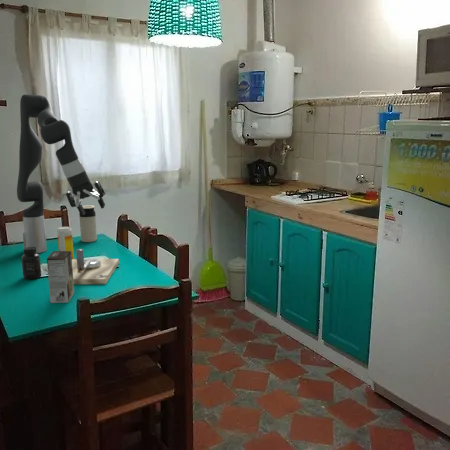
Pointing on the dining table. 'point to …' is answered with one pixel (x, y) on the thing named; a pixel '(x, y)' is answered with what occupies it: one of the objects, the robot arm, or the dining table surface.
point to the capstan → (85, 262)
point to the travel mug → (88, 224)
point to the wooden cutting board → (95, 272)
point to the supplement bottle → (31, 263)
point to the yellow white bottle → (65, 239)
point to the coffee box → (60, 276)
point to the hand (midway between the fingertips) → (93, 211)
